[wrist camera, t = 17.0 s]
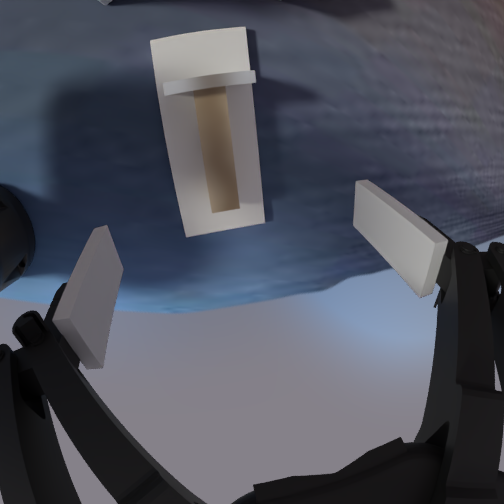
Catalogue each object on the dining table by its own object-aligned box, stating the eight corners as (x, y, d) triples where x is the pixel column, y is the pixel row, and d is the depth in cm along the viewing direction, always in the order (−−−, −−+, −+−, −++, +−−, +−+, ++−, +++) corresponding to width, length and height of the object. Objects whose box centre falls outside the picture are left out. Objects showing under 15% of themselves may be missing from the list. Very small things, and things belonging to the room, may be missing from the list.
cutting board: (186, 233, 38) (186, 237, 37) (151, 41, 24) (150, 40, 24) (263, 219, 39) (264, 222, 38) (243, 28, 25) (245, 26, 25)
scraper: (188, 203, 34) (188, 226, 29) (168, 83, 27) (162, 83, 22) (255, 191, 35) (267, 212, 30) (243, 72, 27) (254, 70, 23)
